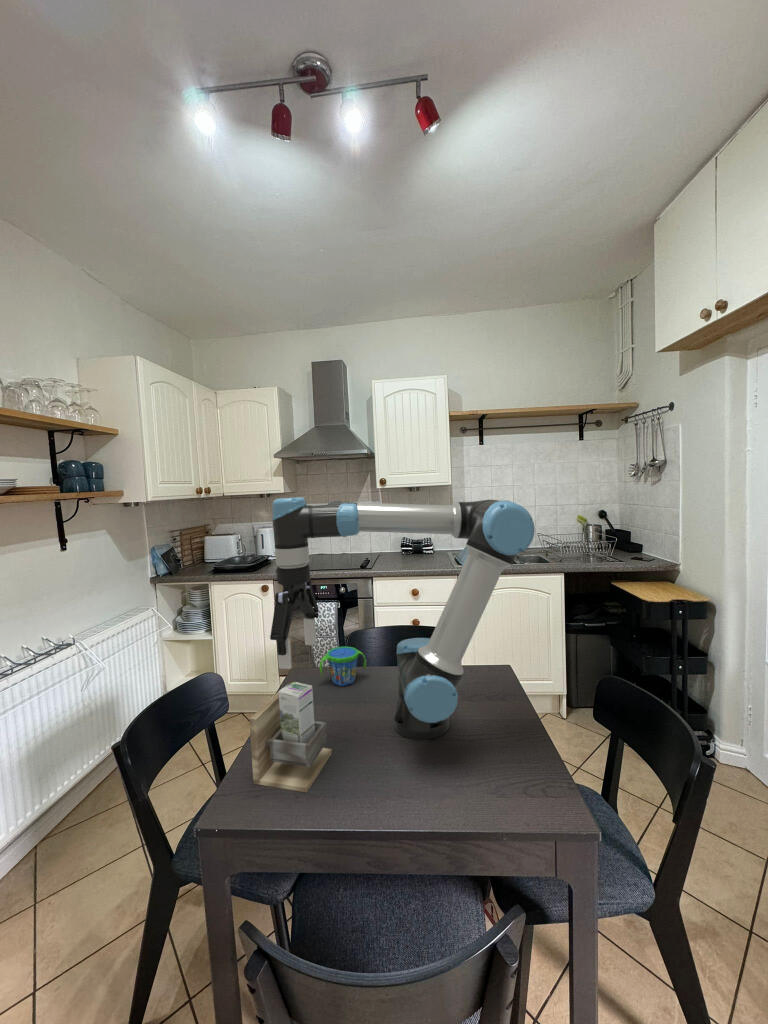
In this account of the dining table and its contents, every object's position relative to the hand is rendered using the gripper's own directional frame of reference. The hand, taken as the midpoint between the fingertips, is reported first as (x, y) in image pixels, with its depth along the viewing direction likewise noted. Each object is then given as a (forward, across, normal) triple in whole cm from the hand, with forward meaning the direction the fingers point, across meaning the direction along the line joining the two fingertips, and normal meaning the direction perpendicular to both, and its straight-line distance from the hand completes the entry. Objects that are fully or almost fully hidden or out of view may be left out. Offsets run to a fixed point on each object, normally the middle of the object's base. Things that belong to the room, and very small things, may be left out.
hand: (298, 655), depth 101 cm
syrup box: (+22, +2, -1) cm, 22 cm away
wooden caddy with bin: (+26, +1, -2) cm, 27 cm away
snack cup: (+27, -43, -6) cm, 51 cm away
